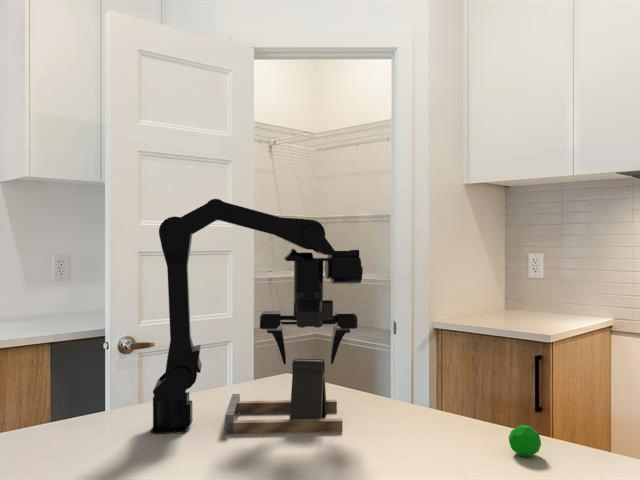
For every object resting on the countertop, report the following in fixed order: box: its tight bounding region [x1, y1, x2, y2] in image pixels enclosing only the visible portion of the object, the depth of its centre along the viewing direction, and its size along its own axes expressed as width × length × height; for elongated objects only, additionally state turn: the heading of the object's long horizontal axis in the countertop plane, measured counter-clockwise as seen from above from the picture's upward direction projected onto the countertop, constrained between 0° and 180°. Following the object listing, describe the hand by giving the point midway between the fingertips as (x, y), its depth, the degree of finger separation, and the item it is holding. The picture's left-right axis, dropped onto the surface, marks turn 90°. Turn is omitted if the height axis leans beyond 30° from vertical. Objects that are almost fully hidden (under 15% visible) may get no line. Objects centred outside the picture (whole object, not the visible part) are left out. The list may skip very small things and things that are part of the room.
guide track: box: [227, 399, 343, 435], centre depth 114 cm, size 21×14×2 cm, turn 93°
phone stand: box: [289, 358, 328, 419], centre depth 114 cm, size 9×6×12 cm, turn 171°
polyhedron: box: [508, 424, 542, 458], centre depth 96 cm, size 5×5×5 cm
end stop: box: [224, 393, 241, 435], centre depth 113 cm, size 2×14×4 cm, turn 3°
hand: (308, 363), depth 114 cm, fingers open, 9 cm apart
